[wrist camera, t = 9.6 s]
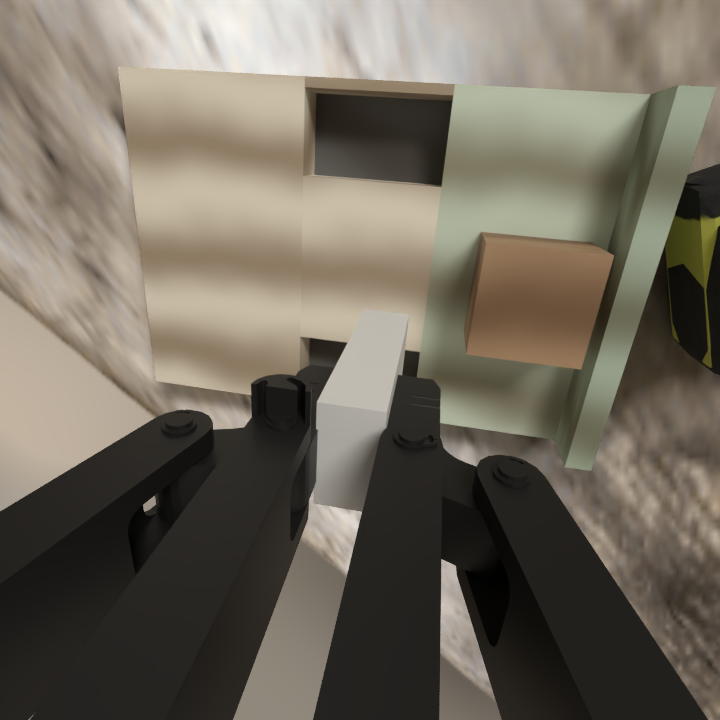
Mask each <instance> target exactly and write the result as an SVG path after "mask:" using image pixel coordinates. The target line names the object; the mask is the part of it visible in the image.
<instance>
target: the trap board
mask: <svg viewBox="0 0 720 720" xmlns="http://www.w3.org/2000/svg"><path fill="white" fill-rule="evenodd" d="M118 71H119V80H120V88H121V96H122V105H123V113H124V121H125V129H126V138H127V146H128V154H129V162H130V171H131V179H132V187H133V196H134V204H135V212H136V220H137V229H138V237H139V245H140V253H141V262H142V270H143V278H144V287H145V295H146V303H147V311H148V320H149V328H150V336H151V344H152V353H153V361H154V369H155V378H156V381H158V382H165V383H172V384H179V385H185V386H192V387H199V388H206V389H213V390H219V391H226V392H233V393H240V394H247V395H251V383H253V382H254V381H255V380H257V379H259V378H261V377H264V376H267V375H275V374H288V375H294V376H296V374H297V373H298V371H300V370H302V369H303V368H305V367H307V366H309V365H318V366H325V367H333V368H335V366H336V364H337V362H338V360H339V358H340V357H341V355H342V353H343V351H344V349H345V347H346V345H347V343H348V341H349V339H350V337H351V335H352V333H353V332H354V330H355V328H356V326H357V324H358V322H359V320H360V318H361V316H362V314H363V312H364V310H365V309H367V310H376V311H384V312H393V313H402V314H409V320H408V329H407V338H406V346H405V355H404V364H403V372H402V375H403V376H411V377H419V378H426V379H433V380H434V381H435V382H436V383H437V385H438V386H439V387H440V389H441V399H440V423H443V424H450V425H457V426H464V427H470V428H477V429H484V430H491V431H498V432H504V433H511V434H518V435H525V436H532V437H538V438H545V439H552V440H555V442H556V445H557V448H558V450H559V453H560V455H561V458H562V461H563V463H564V466H565V467H569V468H576V469H582V470H589V471H591V469H592V466H593V463H594V460H595V457H596V454H597V451H598V448H599V445H600V442H601V438H602V435H603V432H604V429H605V426H606V423H607V420H608V417H609V414H610V411H611V408H612V405H613V402H614V399H615V396H616V393H617V389H618V386H619V383H620V380H621V377H622V374H623V371H624V368H625V365H626V362H627V359H628V356H629V353H630V350H631V347H632V344H633V340H634V337H635V334H636V331H637V328H638V325H639V322H640V319H641V316H642V313H643V310H644V307H645V304H646V301H647V298H648V295H649V292H650V288H651V285H652V282H653V279H654V276H655V273H656V270H657V267H658V264H659V261H660V258H661V255H662V252H663V249H664V246H665V243H666V239H667V236H668V233H669V230H670V227H671V224H672V221H673V218H674V215H675V212H676V209H677V206H678V203H679V200H680V197H681V194H682V191H683V187H684V184H685V181H686V178H687V175H688V172H689V169H690V166H691V163H692V160H693V157H694V154H695V151H696V148H697V145H698V142H699V138H700V135H701V132H702V129H703V126H704V123H705V120H706V117H707V114H708V111H709V108H710V105H711V102H712V99H713V96H714V93H715V89H716V87H701V86H681V85H678V86H675V87H672V88H669V89H666V90H663V91H660V92H657V93H654V94H651V95H649V94H630V93H611V92H592V91H573V90H554V89H535V88H516V87H497V86H478V85H459V84H440V83H421V82H402V81H383V80H364V79H345V78H326V77H307V76H288V75H269V74H249V73H230V72H211V71H192V70H173V69H154V68H135V67H118ZM481 232H489V233H499V234H509V235H519V236H529V237H540V238H550V239H560V240H570V241H581V242H591V243H593V244H594V245H596V246H598V247H600V248H602V249H603V250H605V251H607V252H609V253H611V254H612V255H614V259H613V262H612V265H611V269H610V272H609V276H608V279H607V283H606V286H605V289H604V293H603V296H602V300H601V303H600V307H599V310H598V313H597V317H596V320H595V324H594V327H593V331H592V334H591V337H590V341H589V344H588V348H587V351H586V355H585V358H584V361H583V365H582V368H581V370H580V369H573V368H565V367H557V366H550V365H542V364H535V363H527V362H519V361H512V360H504V359H497V358H489V357H481V356H474V355H466V348H465V337H464V327H465V321H466V315H467V309H468V304H469V298H470V292H471V286H472V281H473V275H474V269H475V263H476V257H477V252H478V246H479V240H480V234H481Z"/></svg>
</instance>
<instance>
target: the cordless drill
mask: <svg viewBox="0 0 720 720" xmlns="http://www.w3.org/2000/svg"><path fill="white" fill-rule="evenodd" d="M665 252H666V264H667V276H668V288H669V300H670V313H671V323H672V333H673V337H674V338H675V340H676V341H677V342H678V343H679V344H680V345H681V346H682V347H683V349H684V350H685V351H686V352H687V353H688V354H689V355H690V356H692V357H693V358H695V359H696V360H697V361H699V362H700V363H701V364H703V365H704V366H705V367H707V368H708V369H710V370H711V371H712V372H714V373H716V374H719V375H720V164H718V165H714V166H712V167H709V168H706V169H703V170H700V171H697V172H694V173H691V174H688V175H687V178H686V181H685V184H684V187H683V191H682V194H681V197H680V200H679V203H678V206H677V209H676V212H675V215H674V218H673V221H672V224H671V227H670V230H669V233H668V236H667V239H666V243H665Z"/></svg>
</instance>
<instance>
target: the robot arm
mask: <svg viewBox="0 0 720 720" xmlns="http://www.w3.org/2000/svg"><path fill="white" fill-rule="evenodd" d="M408 320H409V314H402V313H393V312H384V311H376V310H367V309H365V310H364V312H363V314H362V316H361V318H360V320H359V322H358V324H357V326H356V328H355V330H354V332H353V333H352V335H351V337H350V339H349V341H348V343H347V345H346V347H345V349H344V351H343V353H342V355H341V357H340V358H339V360H338V362H337V364H336V366H335V368H333V367H325V366H318V365H309V366H307V367H305V368H303V369H302V370H300V371H298V373H297V374H296V376H294V375H288V374H275V375H267V376H264V377H261V378H259V379H257V380H255V381H254V382H253V383H251V403H252V418H251V419H250V420H249V422H248V423H247V424H246V426H245V427H244V428H236V429H218V430H213V422H212V420H211V418H210V417H209V416H208V415H206V414H204V413H202V412H199V411H193V410H177V411H174V412H169V413H165V414H163V415H161V416H159V417H156V418H155V419H153V420H151V421H150V422H148V423H146V424H145V425H143V426H141V427H140V428H138V429H137V430H135V431H133V432H131V433H130V434H128V435H126V436H125V437H124V438H121V439H120V440H118V441H116V442H115V443H113V444H112V445H110V446H108V447H106V448H105V449H103V450H102V451H100V452H98V453H97V454H95V455H93V456H92V457H90V458H88V459H87V460H85V461H83V462H82V463H80V464H78V465H77V466H75V467H73V468H72V469H70V470H68V471H67V472H65V473H63V474H62V475H60V476H58V477H57V478H55V479H53V480H52V481H50V482H49V483H47V484H45V485H44V486H42V487H40V488H39V489H37V490H35V491H34V492H32V493H30V494H29V495H27V496H25V497H24V498H22V499H20V500H19V501H17V502H15V503H14V504H12V505H10V506H9V507H7V508H5V509H4V510H2V511H0V720H28V719H29V718H30V717H31V716H32V715H33V714H34V713H35V714H34V715H33V717H32V718H31V719H30V720H233V718H234V715H235V713H236V710H237V707H238V704H239V701H240V699H241V696H242V694H243V691H244V689H245V686H246V683H247V680H248V678H249V675H250V672H251V670H252V667H253V664H254V662H255V659H256V656H257V653H258V651H259V648H260V646H261V643H262V640H263V638H264V635H265V632H266V630H267V627H268V624H269V621H270V619H271V616H272V614H273V611H274V608H275V606H276V603H277V600H278V597H279V595H280V592H281V589H282V587H283V584H284V581H285V579H286V576H287V573H288V571H289V568H290V565H291V563H292V560H293V557H294V555H295V552H296V549H297V546H298V544H299V541H300V539H301V536H302V533H303V531H304V528H305V525H306V523H307V520H308V512H309V498H310V496H311V493H312V491H313V488H314V503H316V504H321V505H327V506H333V507H339V508H345V509H351V510H357V511H362V515H361V519H360V524H359V528H358V532H357V536H356V540H355V545H354V549H353V553H352V557H351V562H350V566H349V570H348V574H347V578H346V583H345V587H344V591H343V596H342V600H341V604H340V608H339V613H338V617H337V621H336V625H335V629H334V634H333V638H332V642H331V646H330V650H329V655H328V659H327V663H326V667H325V671H324V676H323V680H322V684H321V688H320V693H319V697H318V701H317V706H316V710H315V714H314V718H313V720H439V692H440V691H439V689H440V616H441V559H443V560H445V561H447V562H449V563H452V564H454V565H456V570H457V577H458V580H459V583H460V587H461V590H462V593H463V596H464V599H465V603H466V606H467V609H468V612H469V615H470V619H471V622H472V625H473V628H474V632H475V635H476V638H477V641H478V644H479V648H480V651H481V654H482V657H483V661H484V664H485V667H486V670H487V673H488V677H489V680H490V683H491V686H492V689H493V693H494V696H495V699H496V702H497V706H498V709H499V712H500V715H501V718H502V720H708V719H707V717H706V716H705V714H704V713H703V711H702V710H701V708H700V707H699V705H698V704H697V703H696V701H695V700H694V698H693V697H692V695H691V694H690V692H689V691H688V689H687V688H686V686H685V685H684V683H683V682H682V680H681V679H680V677H679V676H678V674H677V673H676V671H675V670H674V668H673V667H672V665H671V664H670V662H669V661H668V659H667V658H666V656H665V655H664V653H663V652H662V650H661V649H660V647H659V646H658V644H657V643H656V641H655V640H654V638H653V637H652V635H651V634H650V632H649V631H648V629H647V628H646V626H645V625H644V623H643V622H642V621H641V619H640V618H639V616H638V615H637V613H636V612H635V610H634V609H633V607H632V606H631V604H630V603H629V601H628V600H627V598H626V597H625V595H624V594H623V592H622V591H621V589H620V588H619V586H618V585H617V583H616V582H615V580H614V579H613V577H612V576H611V574H610V573H609V571H608V570H607V568H606V567H605V565H604V564H603V562H602V561H601V559H600V558H599V556H598V555H597V553H596V552H595V550H594V549H593V547H592V546H591V544H590V543H589V541H588V540H587V538H586V537H585V536H584V534H583V533H582V531H581V530H580V528H579V527H578V525H577V524H576V522H575V521H574V519H573V518H572V516H571V515H570V513H569V512H568V510H567V509H566V507H565V506H564V504H563V503H562V501H561V500H560V498H559V497H558V495H557V494H556V492H555V491H554V489H553V488H552V486H551V485H550V483H549V482H548V480H547V479H546V477H545V476H544V475H543V474H542V473H541V472H540V471H539V470H538V469H537V468H536V467H535V466H533V465H531V464H530V463H528V462H526V461H524V460H522V459H519V458H516V457H513V456H505V455H494V456H488V457H486V458H484V459H482V460H480V462H479V464H478V465H477V467H476V466H473V465H470V464H468V463H465V462H463V461H461V460H458V459H456V458H455V457H453V456H452V455H450V454H449V453H448V452H447V451H446V450H445V449H444V448H443V444H442V441H441V438H440V399H441V389H440V387H439V386H438V385H437V383H436V382H435V381H434V380H433V379H426V378H419V377H411V376H403V375H402V372H403V364H404V355H405V346H406V338H407V329H408ZM153 496H155V498H156V505H155V506H154V507H153V508H151V509H150V510H148V511H146V512H144V510H143V504H144V503H146V502H147V501H148V500H149V499H151V498H152V497H153Z"/></svg>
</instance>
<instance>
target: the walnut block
mask: <svg viewBox="0 0 720 720" xmlns="http://www.w3.org/2000/svg"><path fill="white" fill-rule="evenodd" d="M613 259H614V255H612V254H611V253H609V252H607V251H605V250H603V249H602V248H600V247H598V246H596V245H594V244H593V243H591V242H581V241H570V240H560V239H550V238H540V237H529V236H519V235H509V234H499V233H489V232H481V234H480V240H479V246H478V252H477V257H476V263H475V269H474V275H473V281H472V286H471V292H470V298H469V304H468V309H467V315H466V321H465V327H464V337H465V348H466V355H474V356H481V357H489V358H497V359H504V360H512V361H519V362H527V363H535V364H542V365H550V366H557V367H565V368H573V369H580V370H581V368H582V365H583V361H584V358H585V355H586V351H587V348H588V344H589V341H590V337H591V334H592V331H593V327H594V324H595V320H596V317H597V313H598V310H599V307H600V303H601V300H602V296H603V293H604V289H605V286H606V283H607V279H608V276H609V272H610V269H611V265H612V262H613Z"/></svg>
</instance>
